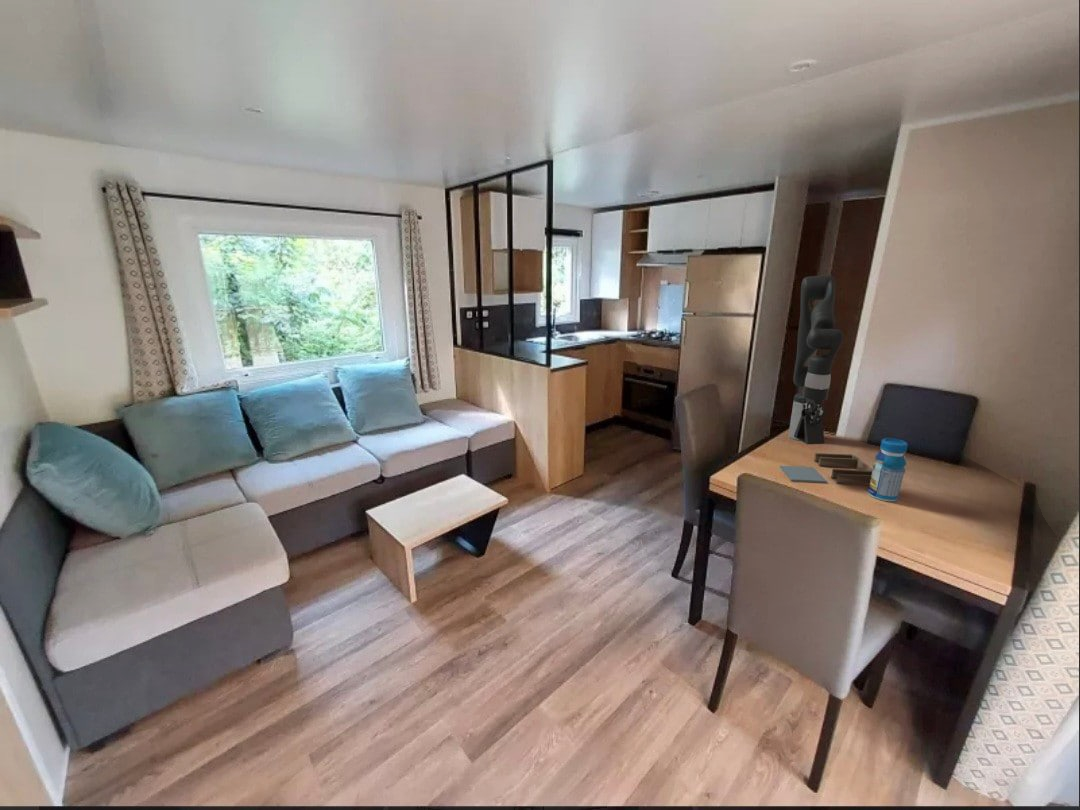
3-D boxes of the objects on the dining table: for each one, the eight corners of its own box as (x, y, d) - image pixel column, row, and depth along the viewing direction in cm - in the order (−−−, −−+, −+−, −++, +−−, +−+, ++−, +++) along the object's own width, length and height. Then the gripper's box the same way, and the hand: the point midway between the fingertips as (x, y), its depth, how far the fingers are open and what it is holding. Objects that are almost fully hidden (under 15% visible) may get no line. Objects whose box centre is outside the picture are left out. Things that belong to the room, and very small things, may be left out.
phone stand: (793, 436, 165) (797, 406, 162) (809, 436, 165) (813, 405, 162) (807, 444, 157) (811, 412, 154) (824, 444, 157) (828, 411, 154)
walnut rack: (813, 461, 177) (815, 453, 176) (852, 462, 175) (853, 454, 174) (837, 483, 158) (839, 474, 157) (880, 485, 156) (882, 476, 155)
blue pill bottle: (887, 504, 144) (900, 447, 138) (861, 493, 151) (872, 439, 145) (904, 499, 147) (917, 443, 141) (877, 488, 154) (889, 435, 148)
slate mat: (779, 467, 172) (779, 465, 172) (812, 469, 170) (813, 467, 170) (791, 481, 161) (791, 479, 160) (826, 483, 159) (827, 481, 158)
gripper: (797, 380, 163) (791, 424, 168) (813, 390, 149) (806, 437, 154) (819, 380, 161) (812, 425, 166) (837, 390, 148) (829, 438, 153)
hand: (809, 430), depth 160 cm, fingers closed on phone stand, 3 cm apart
